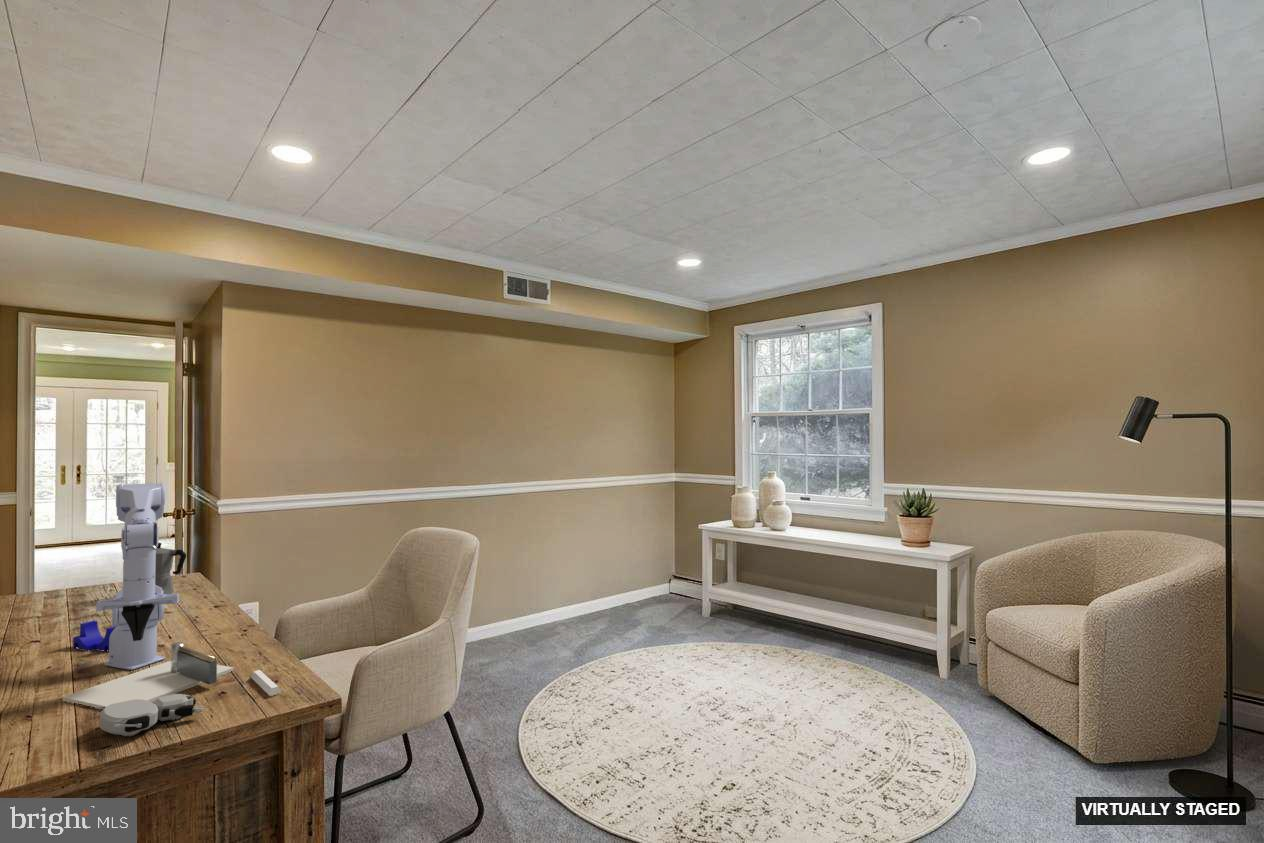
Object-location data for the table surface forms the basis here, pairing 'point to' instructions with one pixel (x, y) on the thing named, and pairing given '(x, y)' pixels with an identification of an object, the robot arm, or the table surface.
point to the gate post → (175, 656)
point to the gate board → (139, 686)
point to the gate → (197, 665)
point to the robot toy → (145, 713)
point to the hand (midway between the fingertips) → (138, 639)
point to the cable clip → (92, 637)
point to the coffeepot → (167, 567)
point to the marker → (265, 683)
